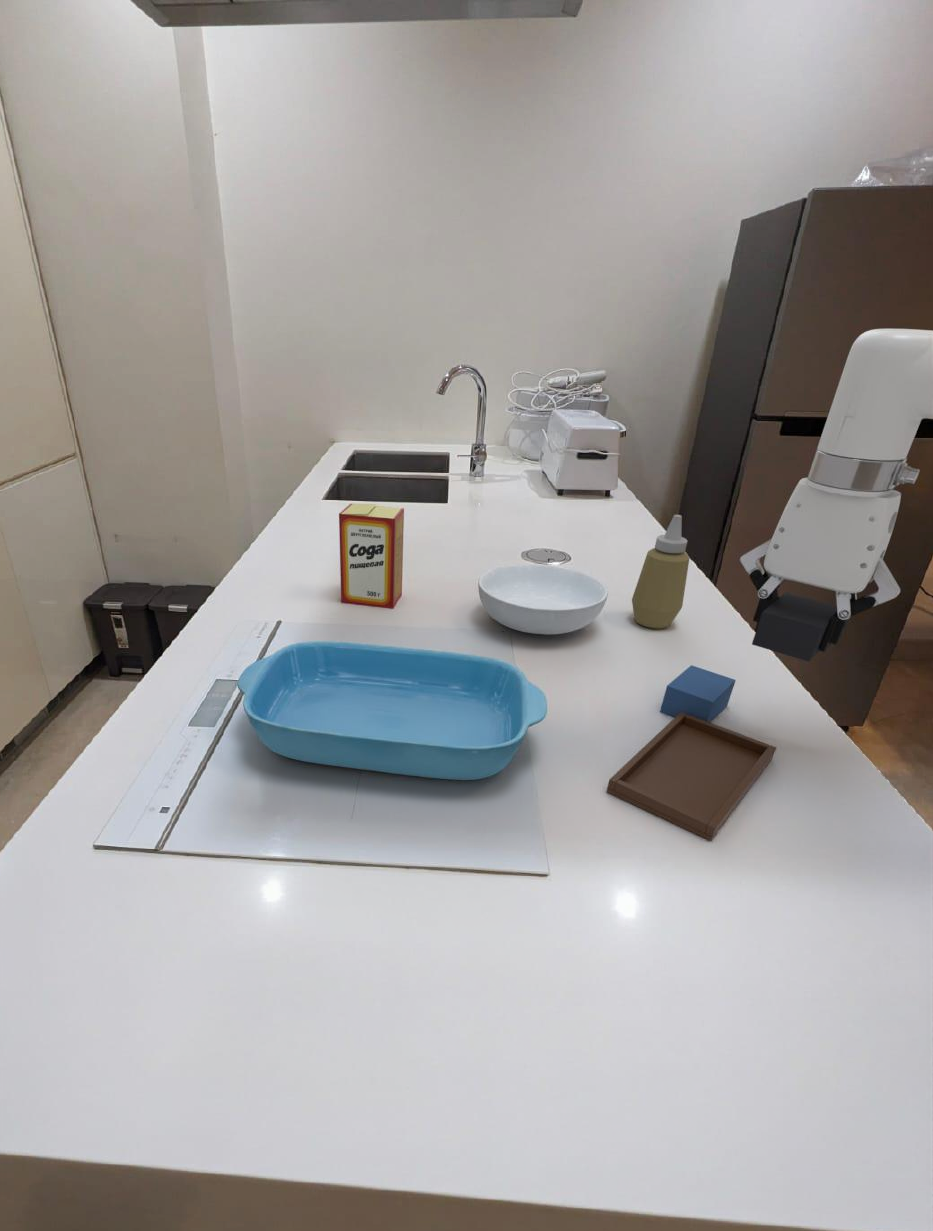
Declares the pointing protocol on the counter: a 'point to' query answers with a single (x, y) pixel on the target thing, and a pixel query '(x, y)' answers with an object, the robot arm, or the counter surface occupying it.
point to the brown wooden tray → (692, 774)
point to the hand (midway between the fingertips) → (792, 636)
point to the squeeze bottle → (662, 579)
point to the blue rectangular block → (697, 694)
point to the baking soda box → (371, 554)
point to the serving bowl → (541, 597)
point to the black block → (794, 626)
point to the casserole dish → (391, 708)
